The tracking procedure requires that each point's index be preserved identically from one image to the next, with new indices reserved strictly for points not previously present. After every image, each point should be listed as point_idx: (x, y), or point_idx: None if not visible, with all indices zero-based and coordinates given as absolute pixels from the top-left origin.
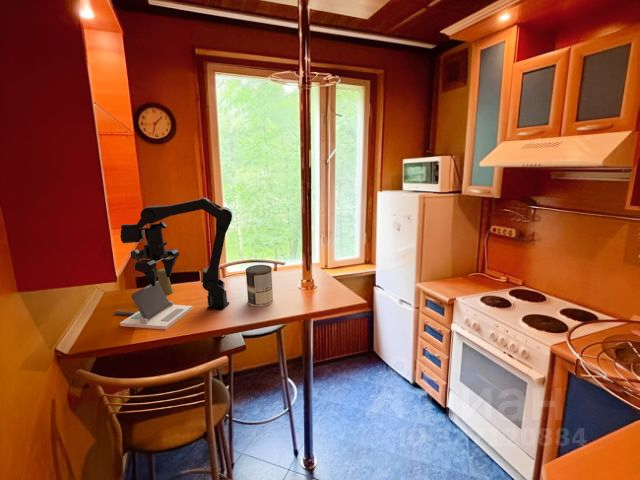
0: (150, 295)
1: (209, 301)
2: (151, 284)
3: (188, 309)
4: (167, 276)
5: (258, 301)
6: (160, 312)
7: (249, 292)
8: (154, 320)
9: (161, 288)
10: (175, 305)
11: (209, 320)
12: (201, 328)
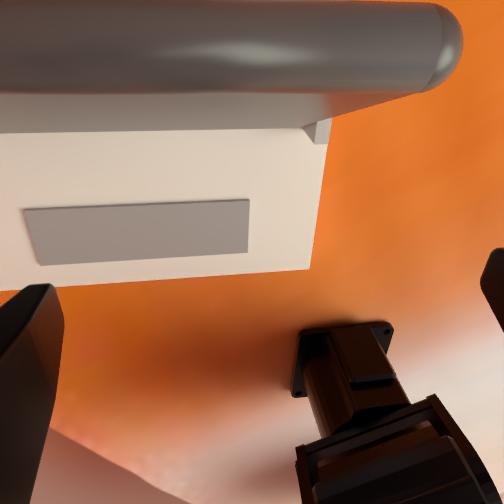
0: (90, 111)
1: (331, 364)
2: (12, 304)
3: (255, 270)
4: (499, 264)
5: None
6: None
7: None
8: (7, 158)
9: (359, 108)
10: (314, 147)
11: (168, 397)
12: (76, 410)
